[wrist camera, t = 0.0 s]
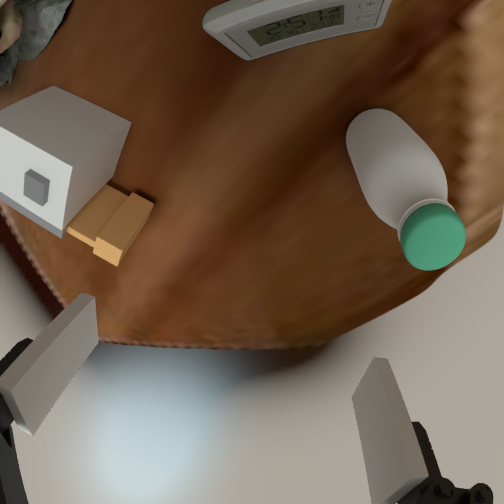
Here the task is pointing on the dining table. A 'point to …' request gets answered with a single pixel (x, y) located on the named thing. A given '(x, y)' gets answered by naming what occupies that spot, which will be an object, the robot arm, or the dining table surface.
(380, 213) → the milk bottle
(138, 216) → the tan long-handled part
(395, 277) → the dining table surface
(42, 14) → the rose bouquet
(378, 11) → the digital clock
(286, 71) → the dining table surface
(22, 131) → the box
